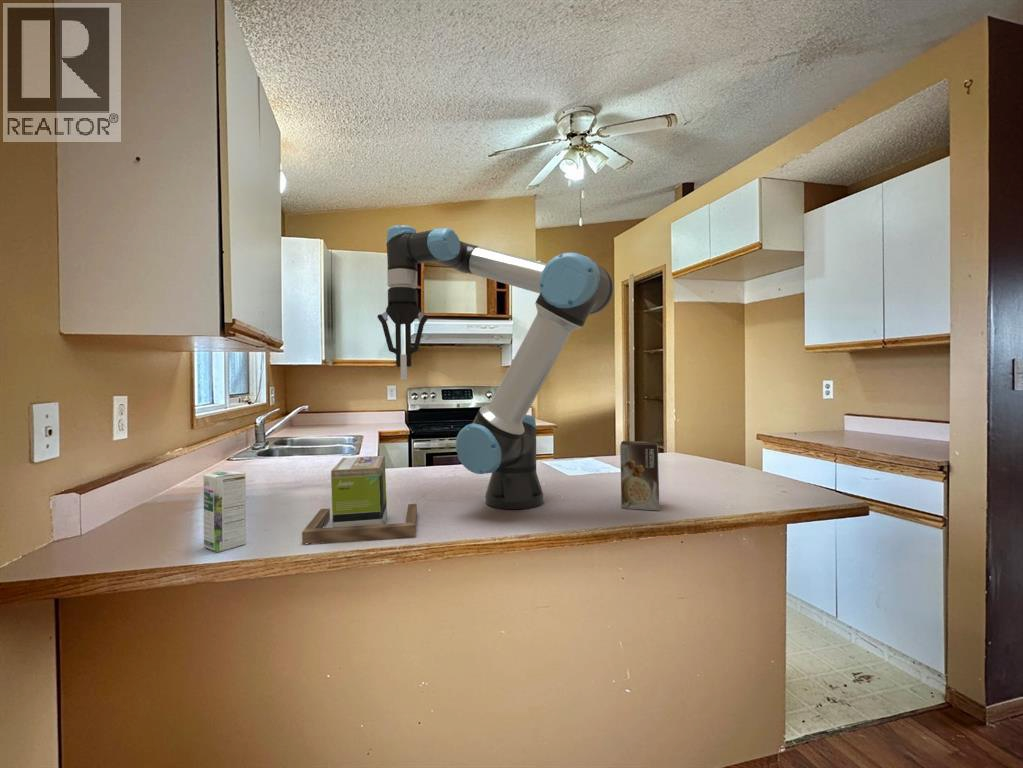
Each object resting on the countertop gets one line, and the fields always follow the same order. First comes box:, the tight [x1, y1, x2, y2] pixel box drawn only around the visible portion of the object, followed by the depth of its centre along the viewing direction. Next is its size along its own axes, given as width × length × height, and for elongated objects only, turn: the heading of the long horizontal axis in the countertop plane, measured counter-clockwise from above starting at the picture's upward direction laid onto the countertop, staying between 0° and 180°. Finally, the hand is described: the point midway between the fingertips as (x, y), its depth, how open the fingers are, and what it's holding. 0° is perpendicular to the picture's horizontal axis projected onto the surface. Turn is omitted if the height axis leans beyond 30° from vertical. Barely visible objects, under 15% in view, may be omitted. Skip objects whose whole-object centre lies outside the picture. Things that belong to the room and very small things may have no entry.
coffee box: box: [619, 440, 661, 512], centre depth 123 cm, size 9×6×16 cm
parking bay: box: [301, 503, 418, 545], centre depth 108 cm, size 22×18×2 cm
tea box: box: [330, 455, 388, 527], centre depth 109 cm, size 15×10×15 cm, turn 10°
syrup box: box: [203, 470, 247, 553], centre depth 98 cm, size 6×6×14 cm
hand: (404, 379), depth 128 cm, fingers closed
